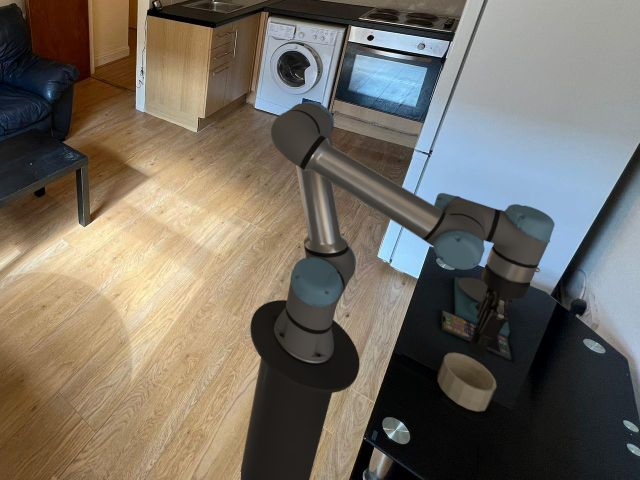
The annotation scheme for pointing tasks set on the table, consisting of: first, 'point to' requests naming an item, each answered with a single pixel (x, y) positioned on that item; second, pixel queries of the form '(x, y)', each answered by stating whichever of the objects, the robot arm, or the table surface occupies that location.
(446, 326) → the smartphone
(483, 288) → the scale pan
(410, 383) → the table surface
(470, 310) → the scale
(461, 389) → the bowl
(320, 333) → the robot arm
